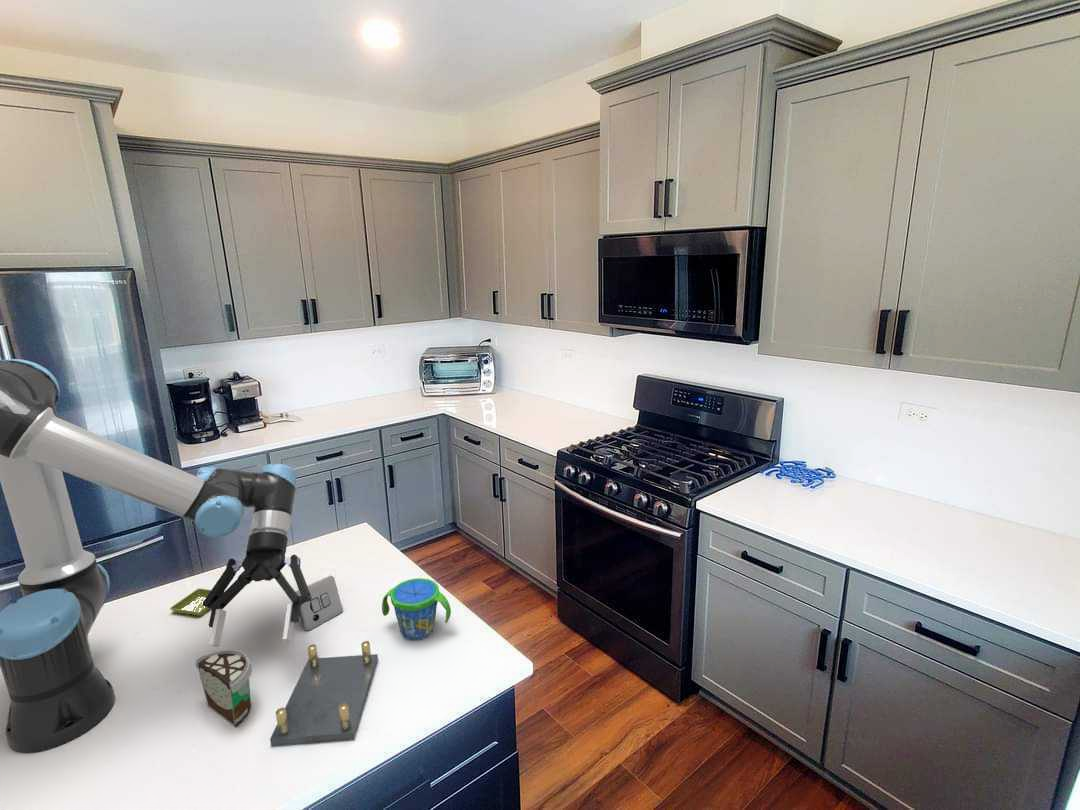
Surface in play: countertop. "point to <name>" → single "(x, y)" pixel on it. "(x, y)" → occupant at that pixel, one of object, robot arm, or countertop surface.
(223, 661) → the food container
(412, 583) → the snack cup
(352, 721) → the post plate
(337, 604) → the electrical switch
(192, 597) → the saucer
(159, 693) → the countertop surface
